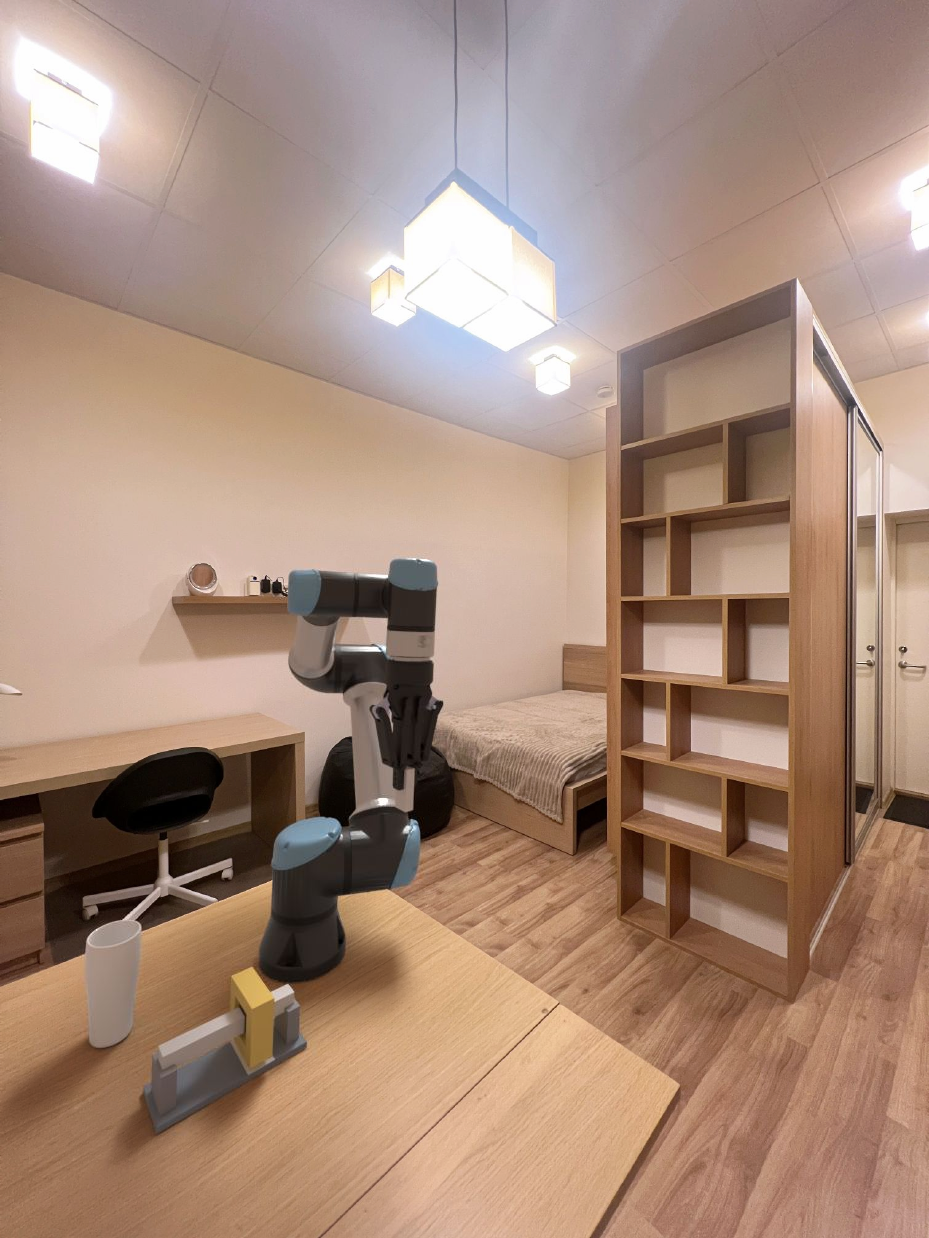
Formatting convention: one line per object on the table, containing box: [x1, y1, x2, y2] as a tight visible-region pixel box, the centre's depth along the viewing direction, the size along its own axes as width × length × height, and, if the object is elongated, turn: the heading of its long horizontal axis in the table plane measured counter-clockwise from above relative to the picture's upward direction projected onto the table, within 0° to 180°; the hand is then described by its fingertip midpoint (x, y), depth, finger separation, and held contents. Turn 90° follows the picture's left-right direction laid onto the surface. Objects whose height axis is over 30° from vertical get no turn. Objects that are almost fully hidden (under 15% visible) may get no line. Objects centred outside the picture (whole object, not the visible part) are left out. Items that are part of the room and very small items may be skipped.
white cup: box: [84, 919, 143, 1049], centre depth 75 cm, size 7×7×15 cm
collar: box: [229, 966, 275, 1068], centre depth 72 cm, size 8×3×8 cm, turn 43°
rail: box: [142, 983, 308, 1135], centre depth 70 cm, size 7×19×7 cm, turn 133°
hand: (403, 808), depth 81 cm, fingers closed
